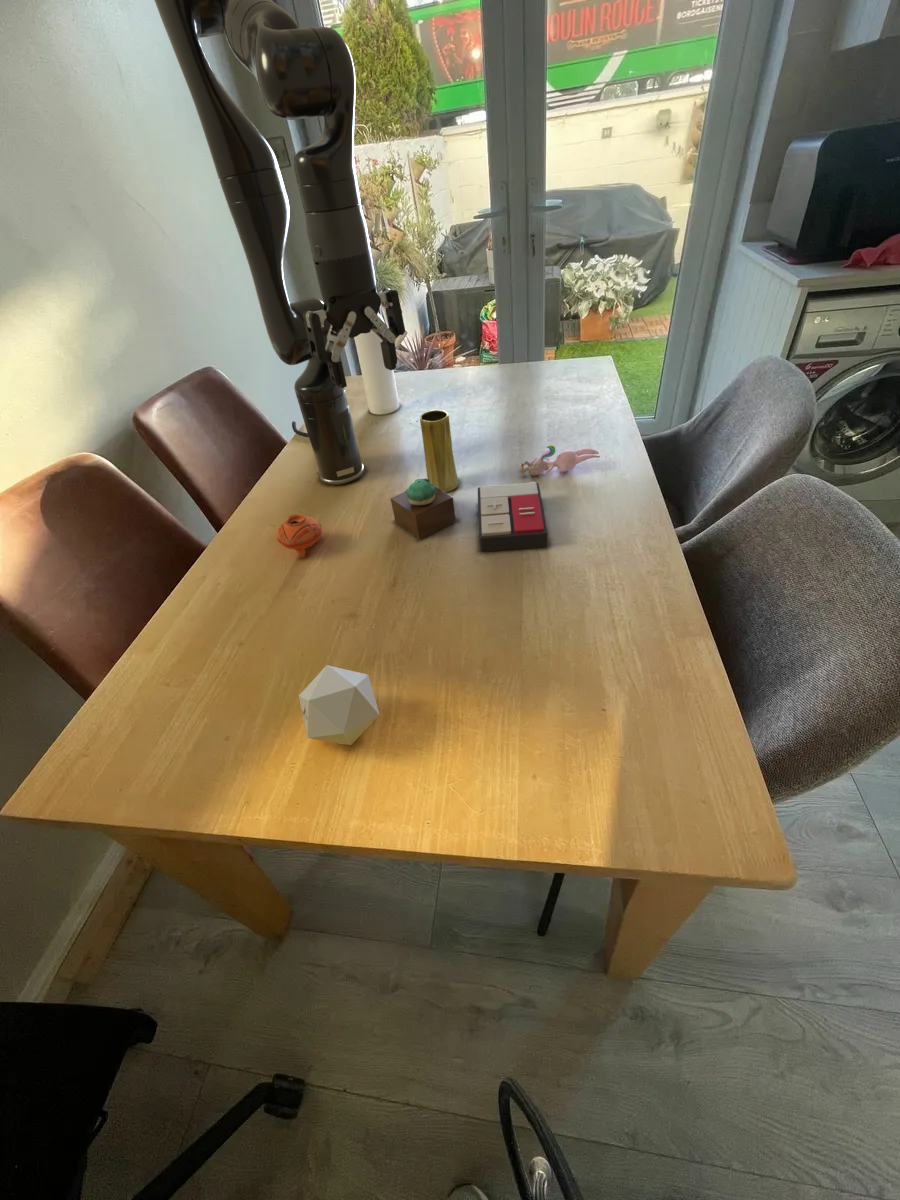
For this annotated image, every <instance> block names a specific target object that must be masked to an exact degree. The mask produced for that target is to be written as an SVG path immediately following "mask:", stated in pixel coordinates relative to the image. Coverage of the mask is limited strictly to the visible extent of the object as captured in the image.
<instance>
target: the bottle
mask: <svg viewBox="0 0 900 1200" xmlns="http://www.w3.org/2000/svg"><path fill="white" fill-rule="evenodd" d="M377 315H378V317H379V318H380V319H381V320H382V321H383V322H384V323H385V320H384V318H383V316H382V315H381V314H380V313H379V312H378V314H377ZM385 324H386V323H385ZM370 331H371V332H369V333H361V334H359V335H358V336H357V337H353V338H354V343H355V348H356V353H357V357H358V362H359V367H360V372H361V377H362V381H363V386H364V391H365V396H366V402H367V406H368V410H369V412H370V413H371V414H373V415H379V416H380V415H389V414H391V413H392V414H393V413H394V412H396V411H398V409H399V408H400V399H399V393H398V388H397V384H396V377H395V371H394V370H389V369H386V368H385V366H384V361H383V355H382V349H381V344H380V342H383V341H382V340H381V339H380V338H379V336H378V335H377V334H376V333H375V332H374V331H372V330H370Z"/></svg>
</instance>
